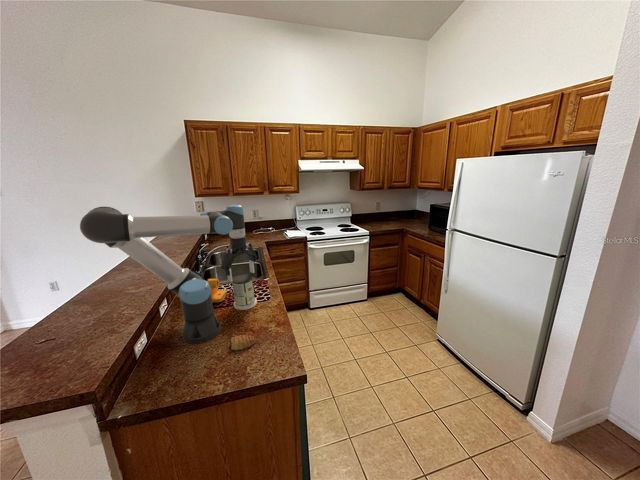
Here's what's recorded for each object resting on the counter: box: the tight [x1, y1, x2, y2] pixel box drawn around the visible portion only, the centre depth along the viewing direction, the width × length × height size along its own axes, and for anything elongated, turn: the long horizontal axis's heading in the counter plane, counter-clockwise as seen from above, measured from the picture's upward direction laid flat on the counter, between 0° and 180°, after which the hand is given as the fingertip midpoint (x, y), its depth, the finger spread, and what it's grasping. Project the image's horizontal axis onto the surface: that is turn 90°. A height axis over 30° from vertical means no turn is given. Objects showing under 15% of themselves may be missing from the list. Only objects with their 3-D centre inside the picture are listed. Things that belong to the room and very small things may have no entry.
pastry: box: [230, 334, 256, 351], centre depth 105 cm, size 9×7×4 cm
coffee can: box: [231, 273, 256, 307], centre depth 135 cm, size 10×10×14 cm
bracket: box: [206, 278, 228, 303], centre depth 143 cm, size 11×7×12 cm, turn 2°
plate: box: [233, 297, 258, 311], centre depth 137 cm, size 12×12×1 cm
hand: (241, 276), depth 133 cm, fingers open, 13 cm apart
